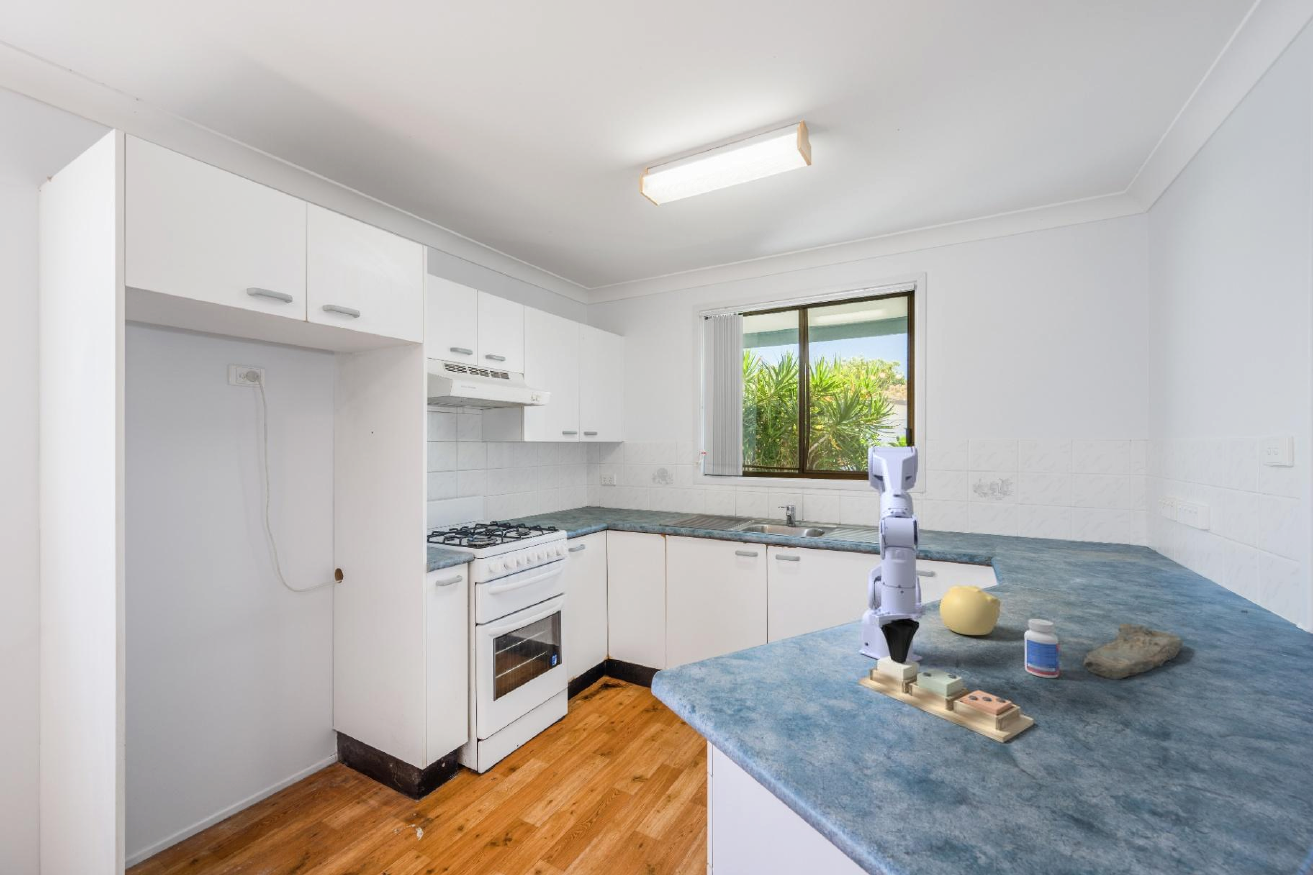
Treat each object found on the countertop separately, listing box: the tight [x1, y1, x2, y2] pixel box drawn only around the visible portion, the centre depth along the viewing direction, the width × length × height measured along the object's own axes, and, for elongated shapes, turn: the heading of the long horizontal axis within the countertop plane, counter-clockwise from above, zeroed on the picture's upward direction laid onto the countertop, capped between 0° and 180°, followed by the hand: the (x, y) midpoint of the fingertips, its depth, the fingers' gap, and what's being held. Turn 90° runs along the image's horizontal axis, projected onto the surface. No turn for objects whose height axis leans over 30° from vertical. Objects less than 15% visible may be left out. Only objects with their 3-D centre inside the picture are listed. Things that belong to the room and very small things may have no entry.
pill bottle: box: [1023, 618, 1060, 679], centre depth 106 cm, size 6×5×10 cm
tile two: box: [917, 667, 963, 697], centre depth 93 cm, size 5×5×3 cm
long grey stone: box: [1082, 622, 1183, 680], centre depth 114 cm, size 35×5×10 cm
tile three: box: [962, 689, 1013, 716], centre depth 86 cm, size 5×5×3 cm
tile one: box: [876, 656, 920, 681], centre depth 99 cm, size 5×5×3 cm
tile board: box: [858, 666, 1034, 744], centre depth 93 cm, size 24×10×3 cm, turn 34°
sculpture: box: [939, 584, 1001, 636], centre depth 130 cm, size 11×12×11 cm
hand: (898, 660), depth 99 cm, fingers closed, pressing on tile one
